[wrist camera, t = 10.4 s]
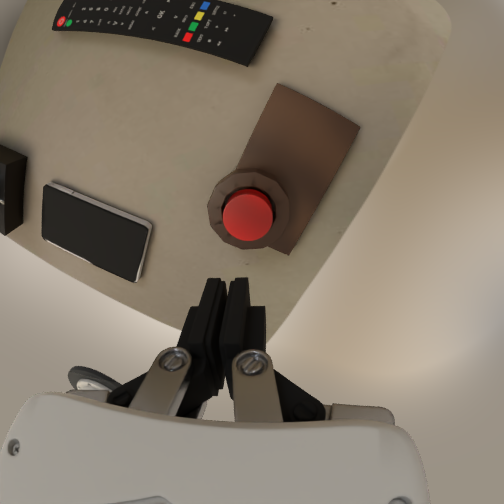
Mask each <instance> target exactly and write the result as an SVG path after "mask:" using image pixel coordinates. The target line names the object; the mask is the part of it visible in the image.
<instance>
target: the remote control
mask: <svg viewBox="0 0 504 504" xmlns="http://www.w3.org/2000/svg"><path fill="white" fill-rule="evenodd" d="M272 21H273V17H272V16H269V15H266V14H263V13H260V12H257V11H254V10H251V9H248V8H244V7H241V6H237V5H234V4H230V3H226V2H222V1H218V0H64V1H63V2H62V4H61V6H60V8H59V9H58V11H57V14H56V16H55V19H54V22H53V26H52V30H54V31H85V32H99V33H110V34H119V35H126V36H133V37H139V38H145V39H151V40H156V41H161V42H165V43H170V44H174V45H179V46H183V47H187V48H190V49H194V50H198V51H201V52H205V53H208V54H212V55H215V56H218V57H221V58H224V59H227V60H230V61H233V62H236V63H239V64H242V65H244V66H247V67H248V65H249V63H250V62H251V60H252V59H253V57H254V55H255V53H256V51H257V50H258V48H259V46H260V44H261V42H262V40H263V38H264V37H265V35H266V33H267V31H268V29H269V27H270V25H271V23H272Z"/></svg>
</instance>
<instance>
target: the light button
mask: <svg viewBox="0 0 504 504" xmlns="http://www.w3.org/2000/svg"><path fill="white" fill-rule="evenodd" d="M272 221H273V212H272V205H271V203H270V201H269V199H268V198H267V197H266V196H265V195H264V194H263V193H262V192H260V191H257V190H254V189H243V190H240V191H237V192H236V193H234V194H233V195H232V196H231V197H230V198H229V200H228V202H227V204H226V206H225V208H224V211H223V223H224V226H225V228H226V229H227V231H228V232H229V233H230V234H231V235H232V236H234V237H235V238H237V239H240V240H244V241H253V240H257V239H259V238H261V237H263V236H264V235H265V234H266V233H267V232H268V231H269V230H270V228H271V225H272Z"/></svg>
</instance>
